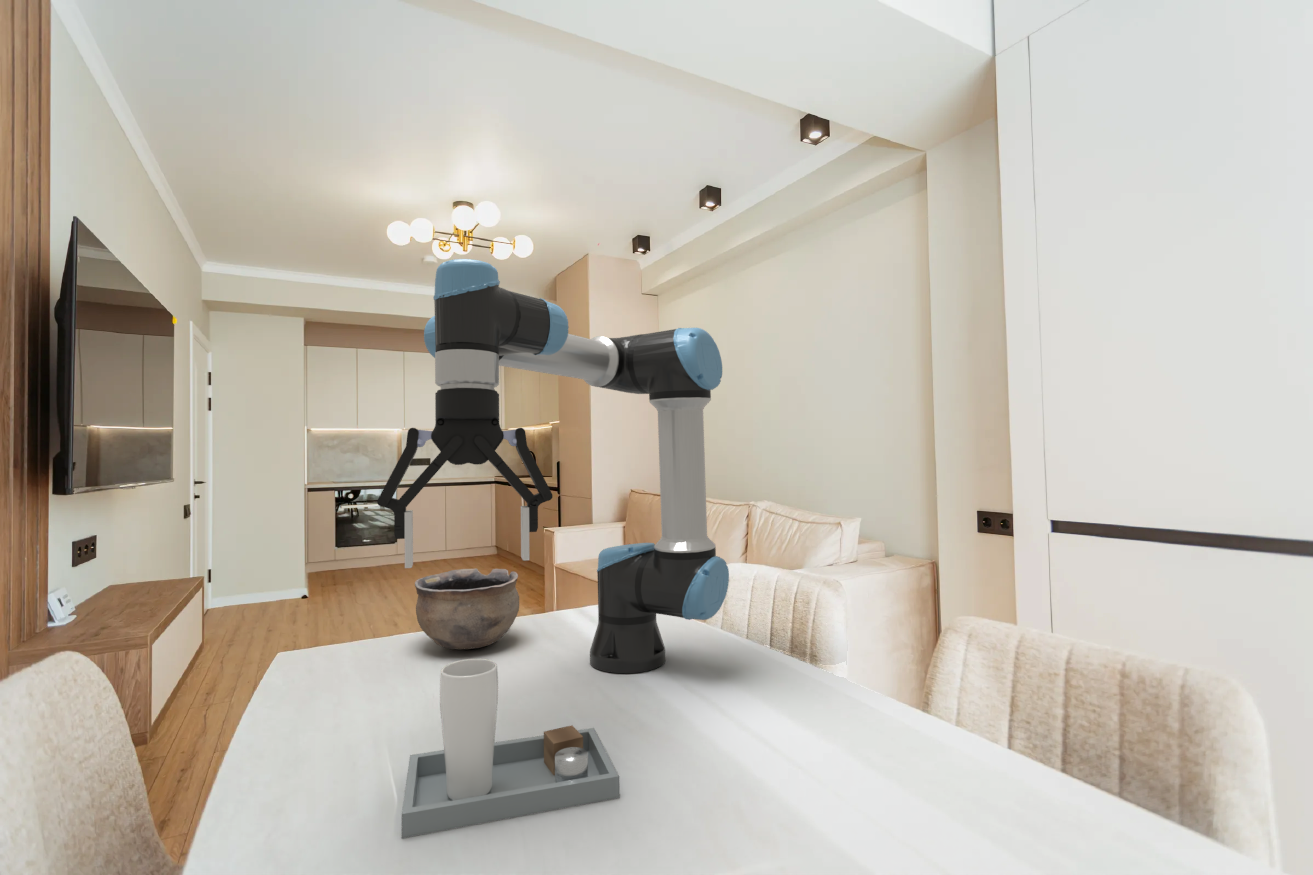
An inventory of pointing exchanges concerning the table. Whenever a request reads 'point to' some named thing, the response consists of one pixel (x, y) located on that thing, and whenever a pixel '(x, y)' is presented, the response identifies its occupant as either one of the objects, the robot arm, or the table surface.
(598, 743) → the collection tray
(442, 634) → the ceramic bowl
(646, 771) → the table surface
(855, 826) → the table surface
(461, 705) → the drinking glass
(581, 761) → the metal cylinder
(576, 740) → the walnut cube
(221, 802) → the table surface
